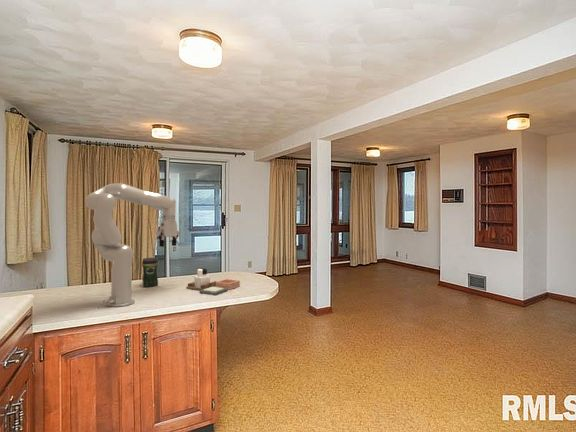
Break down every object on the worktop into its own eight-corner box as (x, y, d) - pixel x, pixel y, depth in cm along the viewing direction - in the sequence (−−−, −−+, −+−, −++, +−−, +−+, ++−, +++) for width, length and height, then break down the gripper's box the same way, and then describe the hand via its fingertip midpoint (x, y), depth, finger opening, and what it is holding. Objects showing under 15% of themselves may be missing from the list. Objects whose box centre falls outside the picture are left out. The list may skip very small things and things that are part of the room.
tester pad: (214, 293, 199) (214, 291, 199) (203, 291, 203) (203, 289, 203) (224, 290, 207) (224, 288, 207) (212, 288, 211) (212, 286, 211)
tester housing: (215, 295, 197) (215, 293, 197) (199, 293, 203) (199, 290, 203) (227, 291, 208) (227, 288, 208) (212, 288, 213) (212, 286, 213)
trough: (200, 290, 208) (200, 286, 208) (186, 288, 213) (186, 284, 213) (218, 285, 223) (218, 280, 223) (204, 283, 229) (204, 279, 228)
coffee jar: (157, 284, 226) (157, 256, 225) (158, 286, 219) (158, 258, 218) (141, 285, 222) (141, 257, 221) (142, 288, 215) (142, 259, 214)
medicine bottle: (203, 285, 223) (203, 267, 223) (210, 287, 218) (210, 268, 218) (194, 287, 218) (194, 268, 217) (200, 289, 213) (200, 270, 213)
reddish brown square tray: (229, 290, 210) (229, 283, 210) (215, 288, 215) (215, 282, 215) (239, 286, 220) (239, 280, 220) (226, 284, 225) (226, 278, 225)
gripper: (161, 218, 198) (160, 247, 198) (183, 218, 213) (182, 245, 213) (152, 217, 201) (152, 246, 201) (175, 218, 217) (174, 245, 216)
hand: (167, 246), depth 207 cm, fingers open, 9 cm apart
